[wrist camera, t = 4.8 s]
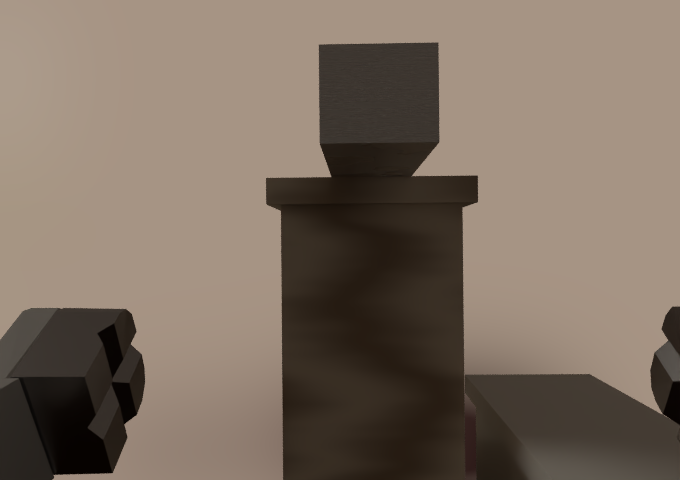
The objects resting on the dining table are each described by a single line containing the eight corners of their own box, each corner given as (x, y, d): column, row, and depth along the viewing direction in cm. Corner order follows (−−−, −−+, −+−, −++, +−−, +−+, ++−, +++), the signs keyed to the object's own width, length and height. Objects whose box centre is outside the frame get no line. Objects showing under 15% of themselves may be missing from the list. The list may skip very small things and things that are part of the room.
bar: (441, 142, 16) (439, 30, 16) (317, 143, 16) (317, 32, 16) (391, 201, 38) (391, 154, 38) (340, 201, 38) (339, 155, 38)
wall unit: (271, 866, 24) (266, 177, 24) (305, 615, 40) (302, 204, 40) (484, 869, 24) (477, 175, 24) (432, 616, 40) (428, 203, 40)
